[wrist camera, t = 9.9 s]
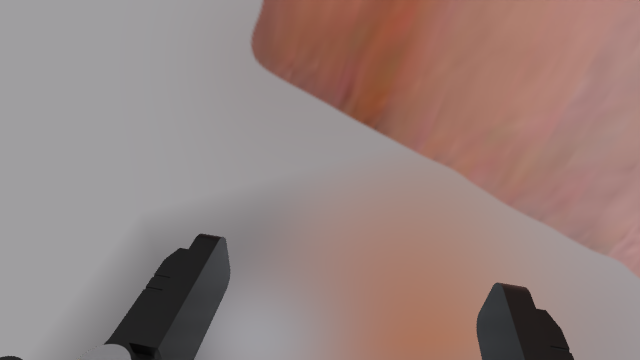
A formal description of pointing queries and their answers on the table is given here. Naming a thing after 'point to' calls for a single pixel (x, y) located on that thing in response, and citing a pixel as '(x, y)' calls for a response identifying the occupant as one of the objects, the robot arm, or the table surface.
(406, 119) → the table surface
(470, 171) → the table surface
